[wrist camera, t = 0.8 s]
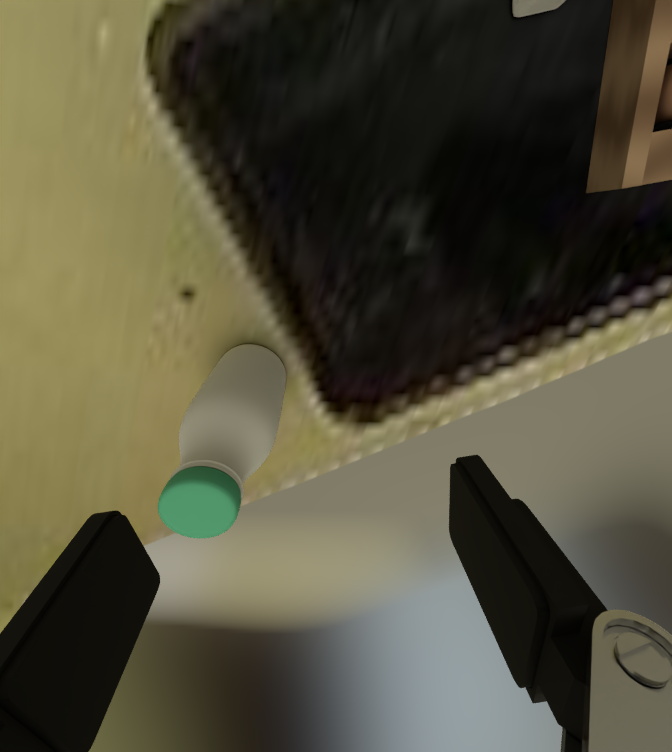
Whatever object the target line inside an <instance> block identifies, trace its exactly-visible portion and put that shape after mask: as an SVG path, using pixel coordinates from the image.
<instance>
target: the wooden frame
mask: <svg viewBox="0 0 672 752" xmlns="http://www.w3.org/2000/svg"><path fill="white" fill-rule="evenodd" d="M671 58H672V0H613V6H612V13H611V20H610V27H609V34H608V41H607V48H606V55H605V62H604V70H603V77H602V84H601V91H600V98H599V105H598V112H597V119H596V126H595V133H594V140H593V147H592V154H591V161H590V168H589V176H588V183H587V190H586V193H592V192H599V191H607V190H615V189H622V188H628V187H633V186H639V185H644V184H650V183H655V182H661V181H666V180H672V127H671V129H668V130H663V131H657V132H653V127H654V122H655V117H656V113H657V108H658V103H659V98H660V93H661V88H662V83H663V78H664V73H665V68H666V63H667V59H671Z"/></svg>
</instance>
